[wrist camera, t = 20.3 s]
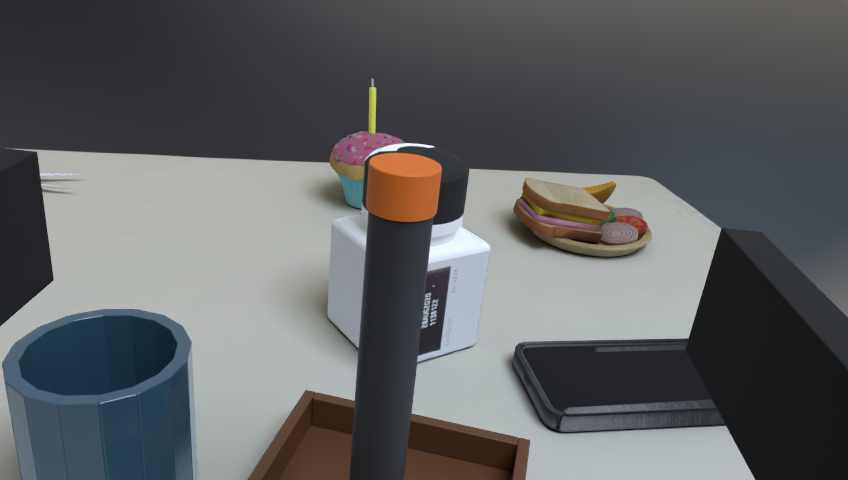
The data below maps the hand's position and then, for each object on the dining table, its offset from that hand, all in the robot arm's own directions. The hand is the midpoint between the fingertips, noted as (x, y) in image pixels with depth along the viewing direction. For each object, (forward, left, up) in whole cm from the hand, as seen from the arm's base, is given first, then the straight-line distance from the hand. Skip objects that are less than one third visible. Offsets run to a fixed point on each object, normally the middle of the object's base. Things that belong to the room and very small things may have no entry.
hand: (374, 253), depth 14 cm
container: (-5, +29, -20) cm, 36 cm away
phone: (+11, +28, -20) cm, 36 cm away
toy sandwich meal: (+7, +53, -20) cm, 57 cm away
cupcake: (-14, +52, -20) cm, 57 cm away
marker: (-2, +9, -19) cm, 21 cm away
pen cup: (-14, +10, -20) cm, 26 cm away
